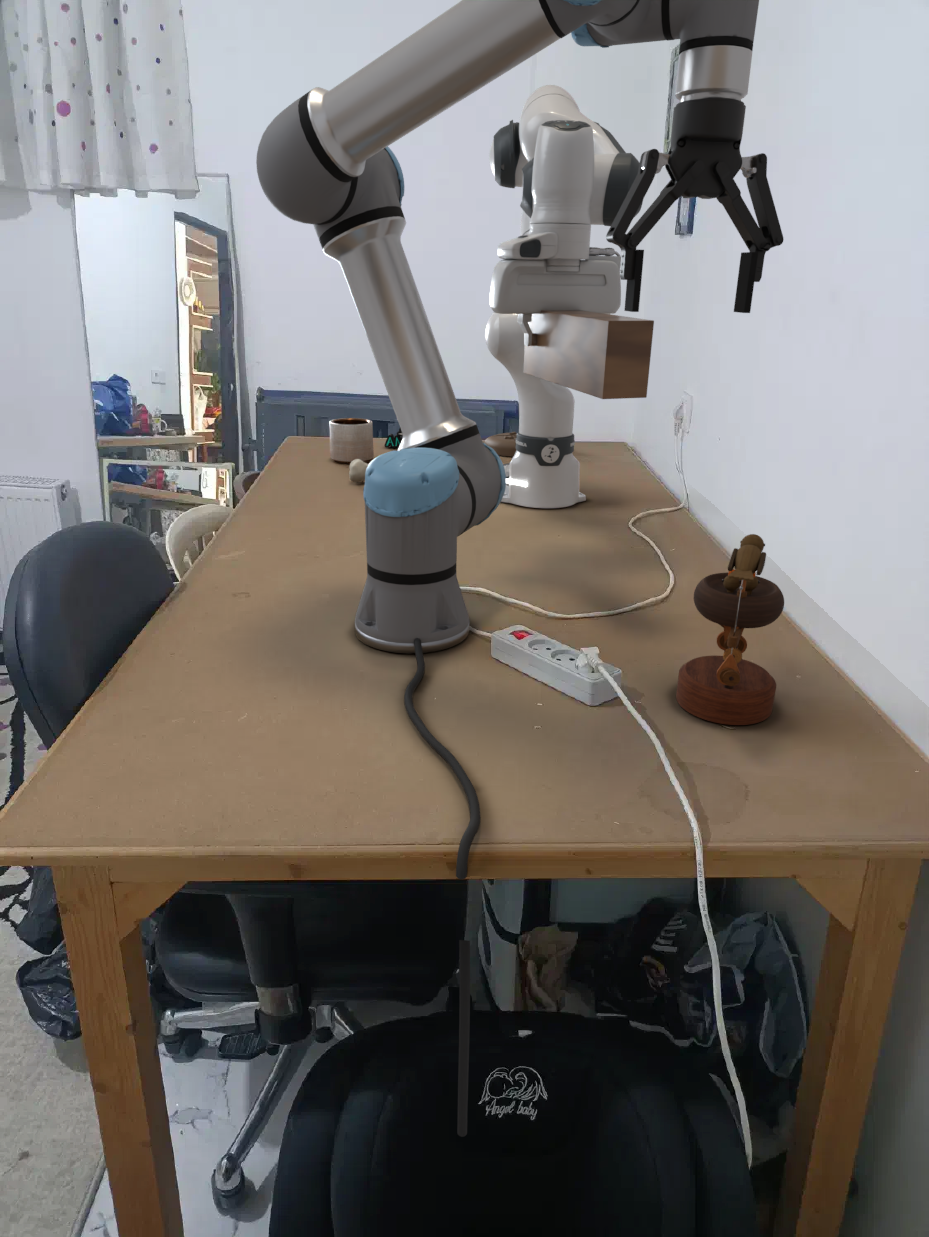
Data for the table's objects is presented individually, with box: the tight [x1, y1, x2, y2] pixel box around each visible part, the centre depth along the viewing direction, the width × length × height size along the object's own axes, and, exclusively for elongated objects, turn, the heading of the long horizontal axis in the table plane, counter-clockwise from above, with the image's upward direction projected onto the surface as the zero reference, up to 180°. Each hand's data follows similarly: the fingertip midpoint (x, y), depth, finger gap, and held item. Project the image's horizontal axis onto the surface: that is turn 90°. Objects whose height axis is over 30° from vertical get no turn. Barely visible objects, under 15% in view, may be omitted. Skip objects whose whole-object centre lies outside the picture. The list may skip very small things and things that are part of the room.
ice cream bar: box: [483, 431, 518, 457], centre depth 222 cm, size 21×28×4 cm
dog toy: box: [348, 459, 369, 483], centre depth 192 cm, size 20×6×5 cm, turn 99°
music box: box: [675, 533, 785, 726], centre depth 92 cm, size 15×11×20 cm
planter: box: [328, 417, 375, 464], centre depth 212 cm, size 11×11×10 cm
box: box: [524, 310, 655, 400], centre depth 120 cm, size 28×6×10 cm, turn 18°
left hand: (687, 312), depth 99 cm, fingers open, 13 cm apart
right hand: (553, 345), depth 129 cm, fingers closed on box, 6 cm apart
